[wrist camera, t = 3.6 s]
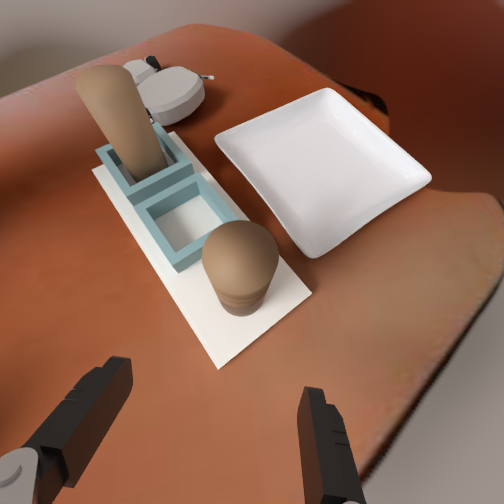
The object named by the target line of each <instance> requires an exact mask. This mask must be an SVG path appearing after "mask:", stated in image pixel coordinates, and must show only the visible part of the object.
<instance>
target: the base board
mask: <svg viewBox="0 0 504 504" xmlns="http://www.w3.org/2000/svg"><path fill="white" fill-rule="evenodd" d="M75 90H76V91H77V93H78V95H79V96H80V98H81V99H82V101H83V102H84V104H85V105H86V107H87V109H88V110H89V112H90V113H91V115H92V116H93V118H94V119H95V121H96V122H97V124H98V126H99V127H100V129H101V130H102V132H103V133H104V135H105V136H106V138H107V139H108V141H109V144H107V145H105V146H102V147H100V148H98V149H96V150H95V151H96V153H97V154H98V156H99V157H100V159H101V160H102V162H103V163H104V164H103V165H101V166H99V167H96V168H94V169H92V171H93V173H94V175H95V176H96V178H97V179H98V181H99V182H100V184H101V186H102V187H103V189H104V190H105V192H106V193H107V195H108V197H109V198H110V200H111V201H112V203H113V204H114V206H115V208H116V209H117V211H118V212H119V214H120V216H121V217H122V219H123V220H124V222H125V223H126V225H127V227H128V228H129V230H130V231H131V233H132V234H133V236H134V238H135V239H136V241H137V242H138V244H139V246H140V247H141V249H142V250H143V252H144V253H145V255H146V257H147V258H148V260H149V261H150V263H151V264H152V266H153V268H154V269H155V271H156V272H157V274H158V276H159V277H160V279H161V280H162V282H163V283H164V285H165V287H166V288H167V290H168V291H169V293H170V294H171V296H172V298H173V299H174V301H175V302H176V304H177V305H178V307H179V309H180V310H181V312H182V313H183V315H184V317H185V318H186V320H187V321H188V323H189V324H190V326H191V328H192V329H193V331H194V332H195V334H196V335H197V337H198V339H199V340H200V342H201V343H202V345H203V347H204V348H205V350H206V351H207V353H208V354H209V356H210V358H211V359H212V361H213V362H214V364H215V365H216V367H217V369H220V368H221V367H222V366H223V365H225V364H226V363H227V362H228V361H229V360H231V359H232V358H233V357H234V356H236V355H237V354H238V353H239V352H241V351H242V350H243V349H244V348H245V347H247V346H248V345H249V344H250V343H252V342H253V341H254V340H255V339H257V338H258V337H259V336H260V335H261V334H263V333H264V332H265V331H266V330H268V329H269V328H270V327H271V326H273V325H274V324H275V323H276V322H278V321H279V320H280V319H281V318H282V317H284V316H285V315H286V314H287V313H289V312H290V311H291V310H292V309H294V308H295V307H296V306H297V305H298V304H300V303H301V302H302V301H303V300H305V299H306V298H307V297H308V296H310V295H311V294H312V293H311V291H310V290H309V289H308V288H307V287H306V286H305V284H304V283H303V282H302V281H301V280H300V279H299V277H298V276H297V275H296V274H295V273H294V272H293V270H292V269H291V268H290V267H289V266H288V265H287V263H286V262H285V261H284V260H283V259H282V257H281V256H280V255H279V262H278V266H277V269H276V271H275V274H274V276H273V279H272V281H271V283H270V286H269V288H268V291H267V293H266V295H265V298H264V300H263V303H262V305H261V306H260V308H259V309H258V310H257V311H256V312H254V313H253V314H251V315H248V316H244V317H239V316H234V315H232V314H230V313H228V312H227V311H226V310H225V309H224V308H223V307H222V305H221V303H220V301H219V299H218V297H217V295H216V293H215V291H214V289H213V286H212V284H211V282H210V280H209V278H208V276H207V274H206V272H205V270H204V267H203V264H202V249H203V245H204V243H205V241H206V239H207V237H208V236H209V234H210V233H211V232H212V231H213V230H214V229H216V228H217V227H218V226H220V225H222V224H224V223H227V222H230V221H235V220H247V221H250V220H249V219H248V218H247V216H246V215H245V214H244V213H243V212H242V211H241V209H240V208H239V207H238V206H237V205H236V204H235V202H234V201H233V200H232V199H231V198H230V197H229V195H228V194H227V193H226V192H225V191H224V190H223V188H222V187H221V186H220V185H219V184H218V182H217V181H216V180H215V179H214V178H213V177H212V175H211V174H210V173H209V172H208V171H207V170H206V168H205V167H204V166H203V165H202V164H201V163H200V161H199V160H198V159H197V158H196V157H195V156H194V154H193V153H192V152H191V151H190V150H189V149H188V147H187V146H186V145H185V144H184V143H183V141H182V140H181V139H180V138H179V137H178V136H177V134H176V133H175V132H174V131H173V132H171V133H169V134H167V133H166V131H165V130H164V129H163V128H162V127H161V125H160V124H159V123H158V122H156V123H154V124H152V123H151V121H150V118H149V116H148V113H147V111H146V108H145V106H144V104H143V101H142V99H141V96H140V94H139V91H138V89H137V86H136V84H135V81H134V79H133V76H132V74H131V73H130V72H129V71H128V70H127V69H126V68H124V67H121V66H118V65H100V66H96V67H92V68H90V69H88V70H86V71H84V72H83V73H82V74H81V75H79V77H78V78H77V79H76V82H75Z"/></svg>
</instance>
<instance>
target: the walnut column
mask: <svg viewBox="0 0 504 504" xmlns="http://www.w3.org/2000/svg"><path fill="white" fill-rule="evenodd" d="M278 262H279V249H278V245H277V243H276V241H275V239H274V237H273V236H272V235H271V233H270V232H269V231H268V230H267V229H265V228H264V227H263V226H261V225H259V224H257V223H254V222H251V221H247V220H235V221H230V222H227V223H224V224H222V225H220V226H218V227H217V228H216V229H214V230H213V231H212V232H211V233H210V234H209V236H208V237H207V239H206V241H205V243H204V245H203V249H202V264H203V267H204V270H205V272H206V274H207V276H208V278H209V280H210V282H211V284H212V286H213V289H214V291H215V293H216V295H217V297H218V299H219V301H220V303H221V305H222V307H223V308H224V309H225V310H226V311H227V312H228V313H230V314H232V315H234V316H239V317H244V316H248V315H251V314H253V313H254V312H256V311H257V310H258V309H259V308H260V306H261V305H262V303H263V300H264V298H265V295H266V293H267V291H268V288H269V286H270V283H271V281H272V279H273V276H274V274H275V271H276V269H277V266H278Z"/></svg>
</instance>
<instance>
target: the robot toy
mask: <svg viewBox="0 0 504 504" xmlns="http://www.w3.org/2000/svg"><path fill="white" fill-rule="evenodd" d="M122 67H124V68H126V69H127V70H128V71H129V72H130V73H131V74H132V76H133V79H134V81H135V84H136V86H137V89H138V91H139V94H140V96H141V99H142V101H143V104H144V106H145V108H146V111H147V113H148V116H149V118H150V121H151V123H152V124H154V123H156V122H158V123H159V124H160V125H161V126H169V125H171V124H174V123H176V122H178V121H180V120H182V119H184V118H185V117H187V116H189V115H190V114H191V113H192V112H193V111H194V110H195V109H196V108H197V107H198V106H199V105H200V104H201V103H202V101H203V100H204V97H205V91H204V86H203V81H202V78H203V79H210V80H213V79H214V77H213V76H200V75H199V74H197V73H195V72H193V71H190V70H188V69H185V68H183V67H181V66H179V67H170V68H167V69H164V70H162V71H161V67H160V65H159V63H158V61H157V60H156V58H155V56H148V57H145V62H144V61H142V60H141V59H139V60H133V61H130V62H127V63H126V64H125V65H123V66H122Z"/></svg>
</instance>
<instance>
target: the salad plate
mask: <svg viewBox="0 0 504 504" xmlns="http://www.w3.org/2000/svg"><path fill="white" fill-rule="evenodd" d="M215 142H216V144H217V145H218V147H219V148H220V149H221V150H222V151H223V153H224V154H225V155H226V156H227V157H228V158H229V159H230V161H231V162H232V163H233V164H234V165H235V166H236V167H237V168H238V169H239V171H240V172H241V173H242V174H243V175H244V176H245V178H246V179H247V180H248V181H249V182H250V184H251V185H252V186H253V187H254V189H255V190H256V191H257V192H258V194H259V195H260V196H261V197H262V199H263V200H264V201H265V202H266V204H267V205H268V206H269V208H270V209H271V210H272V212H273V213H274V214H275V216H276V217H277V219H278V220H279V222H280V223H281V225H282V226H283V227H284V229H285V230H286V232H287V233H288V234H289V236H290V237H291V239H292V240H293V241H294V243H295V244H296V245H297V246H298V248H299V249H300V250H301V251H302V252H303V253H304V254H305V255H306V256H307V257H309V258H318V257H320V256H322V255H324V254H325V253H327V252H328V251H330V250H331V249H333V248H334V247H336V246H337V245H339V244H340V243H341V242H342V241H344V240H345V239H347V238H348V237H349V236H350V235H352V234H353V233H354V232H356V231H357V230H358V229H360V228H361V227H363V226H364V225H365V224H367V223H368V222H370V221H371V220H372V219H374V218H375V217H376V216H378V215H379V214H381V213H382V212H384V211H385V210H387V209H388V208H390V207H392V206H393V205H395V204H396V203H398V202H399V201H401V200H403V199H404V198H406V197H408V196H409V195H411V194H413V193H414V192H416V191H418V190H419V189H421V188H422V187H424V186H425V185H426V184H428V183H429V182H430V181H431V179H432V176H431V174H430V173H429V172H428V171H427V170H426V169H425V168H424V167H423V166H422V165H421V164H419V163H418V162H417V161H416V160H415V159H414V158H412V157H411V156H410V155H409V154H408V153H407V152H406V151H404V150H403V149H402V148H401V147H400V146H399V145H397V144H396V143H395V142H394V141H393V140H392V139H390V138H389V137H388V136H387V135H386V134H385V133H384V132H382V131H381V130H380V129H379V128H378V127H377V126H375V125H374V124H373V123H372V122H371V121H370V120H369V119H367V118H366V117H365V116H364V115H363V114H362V113H360V112H359V111H358V110H357V109H356V108H355V107H353V106H352V105H351V104H350V103H349V102H348V101H347V100H345V99H344V98H343V97H342V96H341V95H340V94H338V93H337V92H336V91H334V90H332V89H330V88H324V89H321V90H318V91H316V92H313V93H311V94H309V95H307V96H304V97H302V98H300V99H298V100H295V101H293V102H291V103H289V104H286V105H284V106H282V107H279V108H277V109H275V110H272V111H270V112H268V113H265V114H263V115H261V116H258V117H256V118H254V119H251V120H249V121H247V122H244V123H242V124H240V125H238V126H235V127H233V128H231V129H228V130H226V131H224V132H222V133H219V134H218V135H216V136H215Z"/></svg>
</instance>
